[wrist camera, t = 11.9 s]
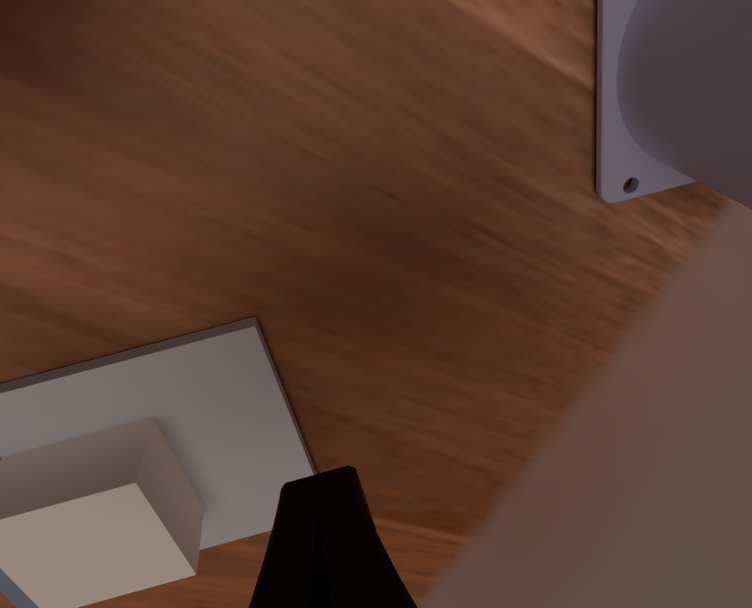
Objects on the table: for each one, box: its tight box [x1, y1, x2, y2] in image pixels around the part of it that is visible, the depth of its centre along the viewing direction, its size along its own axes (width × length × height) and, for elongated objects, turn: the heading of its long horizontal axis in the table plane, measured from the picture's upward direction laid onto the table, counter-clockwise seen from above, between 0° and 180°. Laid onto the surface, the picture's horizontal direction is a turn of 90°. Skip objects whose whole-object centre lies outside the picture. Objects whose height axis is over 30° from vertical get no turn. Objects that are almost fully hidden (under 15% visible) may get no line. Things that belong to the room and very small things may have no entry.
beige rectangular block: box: [0, 417, 204, 608], centre depth 20 cm, size 3×5×6 cm
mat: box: [0, 317, 317, 550], centre depth 21 cm, size 12×10×1 cm
